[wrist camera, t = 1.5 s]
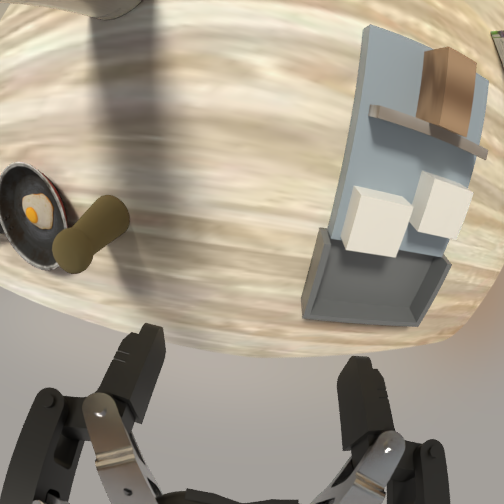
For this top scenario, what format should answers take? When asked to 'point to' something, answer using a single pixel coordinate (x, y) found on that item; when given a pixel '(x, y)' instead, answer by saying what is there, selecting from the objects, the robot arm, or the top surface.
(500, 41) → the syrup box
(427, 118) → the scraper
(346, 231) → the tile
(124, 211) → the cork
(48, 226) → the frying pan
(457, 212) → the tile
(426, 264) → the tray
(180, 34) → the top surface
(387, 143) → the board
